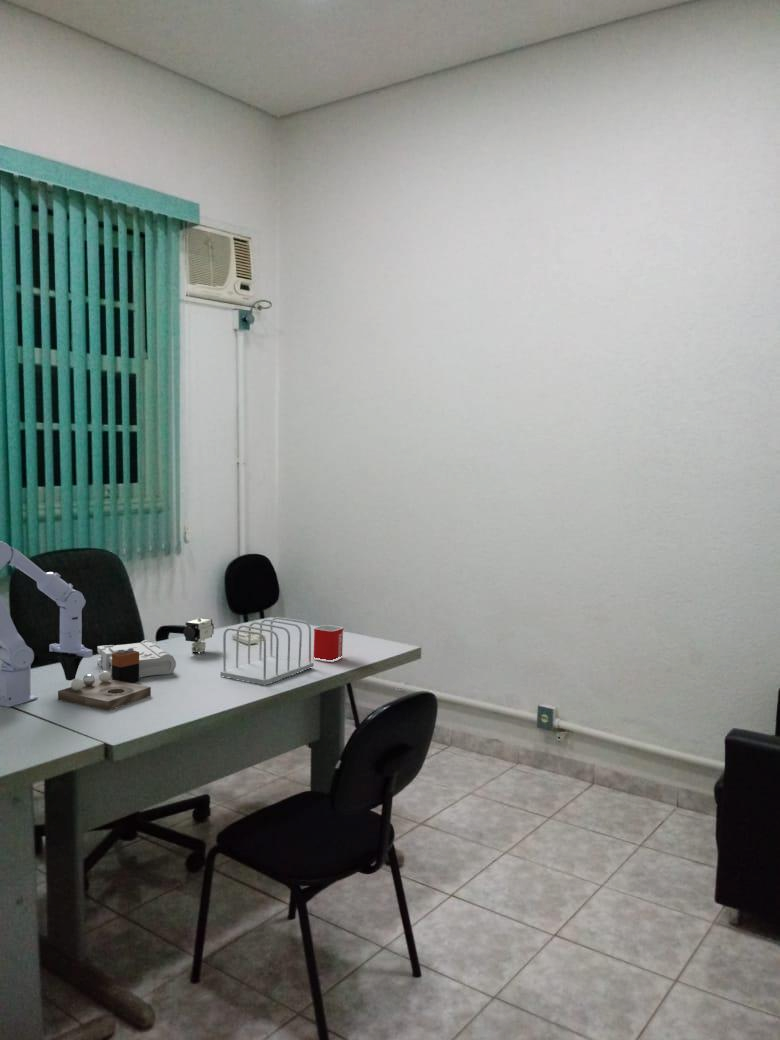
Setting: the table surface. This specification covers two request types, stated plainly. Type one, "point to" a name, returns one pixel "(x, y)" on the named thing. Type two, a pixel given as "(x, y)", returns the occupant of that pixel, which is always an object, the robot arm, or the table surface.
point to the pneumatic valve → (198, 633)
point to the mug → (328, 642)
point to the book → (140, 658)
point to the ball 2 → (105, 676)
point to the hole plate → (105, 694)
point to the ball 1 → (77, 684)
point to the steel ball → (88, 680)
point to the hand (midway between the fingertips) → (70, 679)
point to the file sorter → (267, 666)
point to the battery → (125, 666)
